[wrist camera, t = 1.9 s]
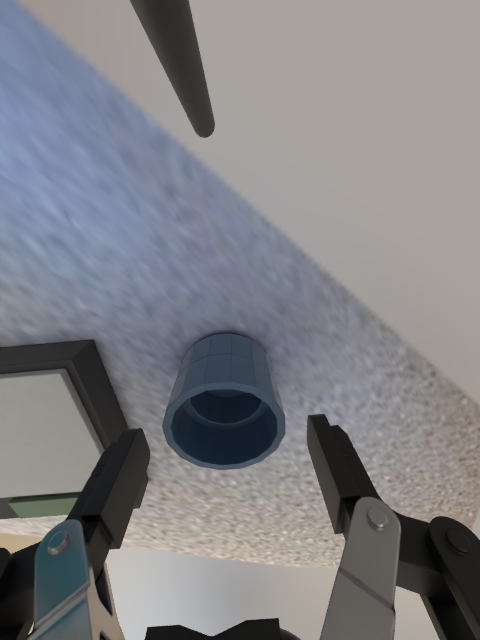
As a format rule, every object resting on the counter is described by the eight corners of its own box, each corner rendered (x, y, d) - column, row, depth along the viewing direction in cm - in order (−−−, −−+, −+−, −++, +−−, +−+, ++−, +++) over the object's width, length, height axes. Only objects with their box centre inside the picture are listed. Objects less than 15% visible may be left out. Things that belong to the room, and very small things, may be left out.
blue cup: (175, 333, 15) (149, 388, 10) (269, 325, 15) (285, 376, 10) (191, 404, 17) (176, 474, 13) (271, 397, 17) (285, 465, 13)
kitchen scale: (-97, 355, 15) (-161, 384, 13) (93, 339, 15) (65, 365, 12) (12, 490, 21) (-17, 528, 18) (149, 479, 21) (137, 516, 18)
